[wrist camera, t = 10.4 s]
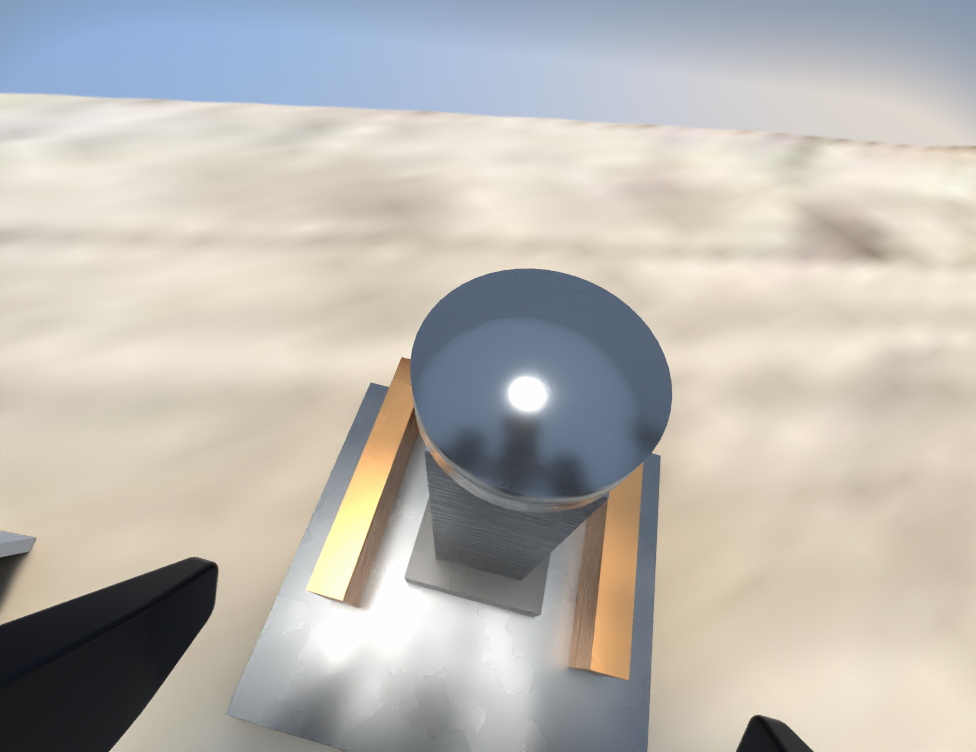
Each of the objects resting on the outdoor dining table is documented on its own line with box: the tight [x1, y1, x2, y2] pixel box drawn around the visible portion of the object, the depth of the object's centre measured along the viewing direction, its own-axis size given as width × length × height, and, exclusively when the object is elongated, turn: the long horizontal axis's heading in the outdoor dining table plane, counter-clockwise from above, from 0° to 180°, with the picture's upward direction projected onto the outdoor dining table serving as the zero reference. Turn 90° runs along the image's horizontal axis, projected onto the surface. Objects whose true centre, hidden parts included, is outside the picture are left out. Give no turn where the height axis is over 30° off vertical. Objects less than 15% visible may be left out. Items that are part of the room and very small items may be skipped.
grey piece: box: [404, 269, 672, 617], centre depth 13 cm, size 5×5×13 cm
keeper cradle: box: [225, 357, 660, 752], centre depth 17 cm, size 13×14×4 cm
